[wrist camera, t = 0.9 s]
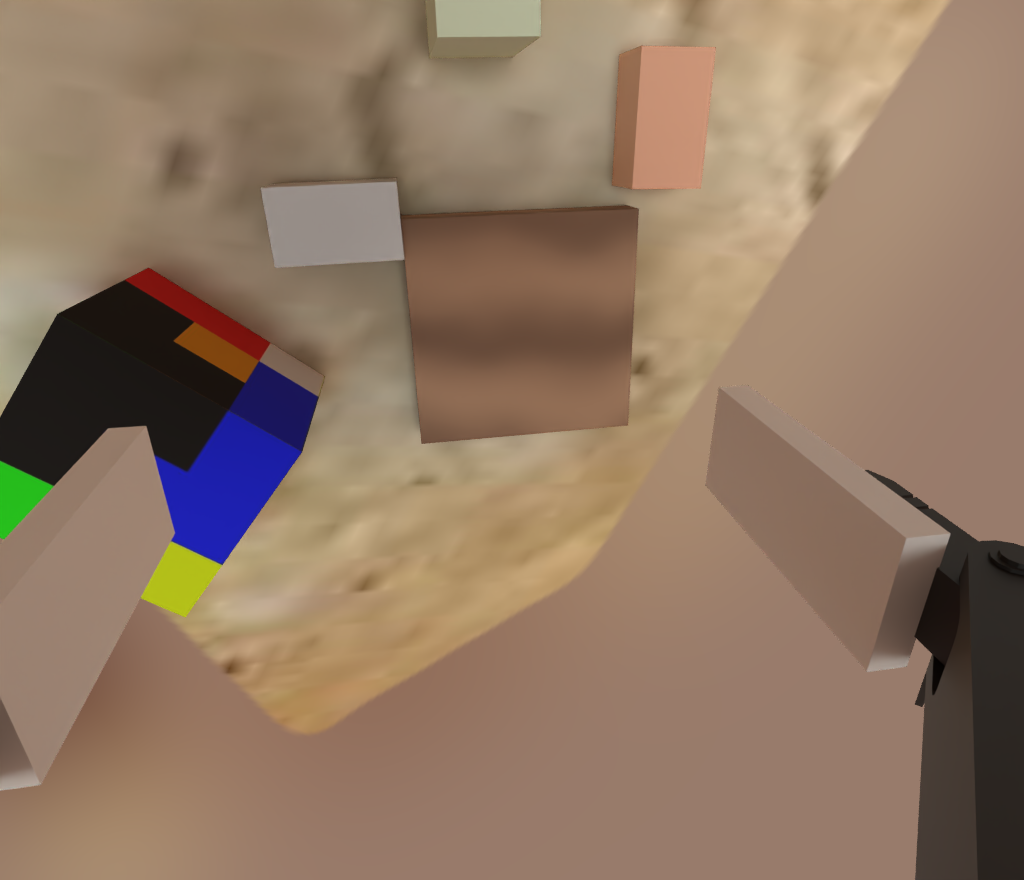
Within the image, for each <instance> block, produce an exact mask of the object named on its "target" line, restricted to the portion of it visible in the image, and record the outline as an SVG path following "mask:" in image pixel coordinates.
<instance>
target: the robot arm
mask: <svg viewBox="0 0 1024 880" xmlns="http://www.w3.org/2000/svg"><path fill="white" fill-rule="evenodd" d="M706 487H707V488H708V489H709V490H710V491H711V493H712V494H713V495H714V496H715V497H716V498H717V500H718V501H719V502H720V503H721V504H722V505H723V506H724V508H725V509H726V510H727V511H728V512H729V513H730V514H731V516H732V517H733V518H734V519H735V520H736V522H737V523H738V524H739V525H740V526H741V527H742V528H743V530H744V531H745V532H746V533H747V534H748V535H749V536H750V538H751V539H752V540H753V541H754V542H755V543H756V545H757V546H758V547H759V548H760V549H761V550H762V552H763V553H764V554H765V555H766V556H767V557H768V558H769V560H770V561H771V562H772V563H773V564H774V565H775V566H776V567H777V569H778V570H779V571H780V572H781V573H782V575H783V576H784V577H785V578H786V579H787V580H788V582H789V583H790V584H791V585H792V586H793V587H794V588H795V590H796V591H797V592H798V593H799V594H800V595H801V597H802V598H803V599H804V600H805V601H806V602H807V604H808V605H809V606H810V607H811V608H812V609H813V610H814V612H815V613H816V614H817V615H818V616H819V617H820V619H821V620H822V621H823V622H824V623H825V624H826V625H827V627H828V628H829V629H830V630H831V631H832V632H833V634H834V635H835V636H836V637H837V638H838V639H839V641H841V643H842V644H843V645H844V646H845V648H846V649H847V650H848V651H849V652H850V653H851V654H852V656H853V657H854V658H855V659H856V660H857V661H858V663H859V664H860V665H861V666H862V667H863V668H864V669H865V671H866V672H871V671H877V670H885V669H892V668H899V667H906V666H907V664H908V661H909V658H910V655H911V652H912V649H913V646H914V643H915V640H916V638H917V639H918V640H919V641H920V642H921V643H922V644H923V645H924V646H925V647H926V648H927V649H928V650H929V651H930V652H931V653H932V656H931V659H930V662H929V666H928V668H927V671H926V674H925V677H924V679H923V682H922V685H921V688H920V691H919V694H918V697H917V700H916V703H915V705H918V706H921V707H922V706H923V705H924V703H925V706H924V707H925V708H924V725H923V745H922V763H921V782H920V801H919V820H918V821H919V822H918V839H917V857H916V876H915V880H1024V547H1023V546H1020V545H1017V544H1014V543H1008V542H1002V541H980V542H979V541H977V540H976V539H974V538H973V537H971V536H970V535H969V534H967V533H966V532H965V531H963V530H962V529H960V528H959V527H958V526H956V525H955V524H953V523H952V522H950V521H949V520H948V519H946V518H945V517H943V516H942V515H940V514H939V513H938V512H936V511H935V510H933V509H929V508H928V505H927V504H925V503H924V502H922V501H921V500H920V499H918V498H917V497H915V498H913V494H911V493H910V492H908V491H907V490H905V489H904V488H903V487H901V486H900V485H899V484H897V483H896V482H894V481H892V480H890V479H888V478H885V477H883V476H881V475H878V474H876V473H874V472H872V471H869V470H863V469H862V468H861V467H859V466H858V465H857V464H855V463H854V462H852V461H851V460H850V459H848V458H847V457H846V456H844V455H843V454H842V453H840V452H839V451H837V450H836V449H835V448H833V447H832V446H831V445H829V444H828V443H826V442H825V441H824V440H822V439H821V438H820V437H818V436H817V435H816V434H814V433H813V432H811V431H810V430H809V429H807V428H806V427H805V426H803V425H802V424H801V423H799V422H798V421H796V420H795V419H794V418H792V417H791V416H790V415H788V414H787V413H786V412H784V411H783V410H782V409H780V408H779V407H777V406H776V405H775V404H773V403H772V402H771V401H769V400H768V399H767V398H765V397H764V396H762V395H761V394H760V393H758V392H757V391H755V390H754V389H753V388H752V387H750V386H749V385H741V386H727V387H719V389H718V397H717V404H716V412H715V419H714V426H713V433H712V441H711V448H710V456H709V464H708V470H707V478H706ZM174 534H175V531H174V527H173V524H172V520H171V516H170V513H169V509H168V505H167V501H166V498H165V494H164V490H163V486H162V483H161V479H160V475H159V472H158V468H157V464H156V460H155V457H154V453H153V449H152V446H151V442H150V438H149V434H148V431H147V427H146V426H136V427H121V428H108V429H107V430H106V431H105V432H104V433H103V434H102V436H101V437H100V438H99V439H98V440H97V441H96V442H95V443H94V444H93V445H92V446H91V447H90V448H89V449H88V450H87V452H86V453H85V454H84V455H83V456H82V457H81V458H80V459H79V460H78V461H77V462H76V463H75V464H74V465H73V466H72V468H71V469H70V470H69V471H68V472H67V473H66V474H65V475H64V476H63V477H62V478H61V479H60V480H59V481H58V482H57V484H56V485H55V486H54V487H53V488H52V489H51V490H50V491H49V492H48V493H47V494H46V495H45V496H44V497H43V499H42V500H41V501H40V502H39V503H38V504H37V505H36V506H35V507H34V508H33V509H32V510H31V511H30V512H29V513H28V515H27V516H26V517H25V518H24V519H23V520H22V521H21V522H20V523H19V524H18V525H17V526H16V527H15V528H14V529H13V531H12V532H11V533H10V534H9V535H8V536H7V537H6V538H5V539H4V540H3V541H2V542H1V543H0V790H8V789H15V788H22V787H29V786H37V785H41V784H42V782H43V780H44V778H45V776H46V774H47V772H48V770H49V769H50V767H51V765H52V763H53V761H54V759H55V757H56V755H57V754H58V752H59V750H60V748H61V746H62V744H63V742H64V740H65V739H66V737H67V735H68V733H69V731H70V729H71V727H72V725H73V723H74V722H75V720H76V718H77V716H78V714H79V712H80V710H81V709H82V707H83V705H84V703H85V701H86V699H87V697H88V695H89V694H90V692H91V690H92V688H93V686H94V684H95V682H96V680H97V679H98V677H99V675H100V673H101V671H102V669H103V667H104V665H105V663H106V662H107V660H108V658H109V656H110V654H111V652H112V650H113V649H114V647H115V645H116V643H117V641H118V639H119V637H120V635H121V633H122V632H123V630H124V628H125V626H126V624H127V622H128V620H129V618H130V617H131V615H132V613H133V611H134V609H135V607H136V605H137V603H138V602H139V600H140V598H141V596H142V594H143V592H144V590H145V589H146V587H147V585H148V583H149V581H150V579H151V577H152V575H153V574H154V572H155V570H156V568H157V566H158V564H159V562H160V560H161V559H162V557H163V555H164V553H165V551H166V549H167V547H168V545H169V544H170V542H171V540H172V538H173V536H174Z"/></svg>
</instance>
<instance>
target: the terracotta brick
mask: <svg viewBox="0 0 1024 880" xmlns="http://www.w3.org/2000/svg"><path fill="white" fill-rule="evenodd" d="M715 51H716V47H676V46H640V47H638V48H635V49H633V50H630V51H628V52H625V53H623V54H620V55H619V70H618V88H617V105H616V123H615V141H614V159H613V177H612V185H614V186H619V187H624V188H629V189H686V188H701V181H702V172H703V162H704V153H705V144H706V134H707V125H708V116H709V107H710V97H711V88H712V79H713V69H714V60H715Z"/></svg>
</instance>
